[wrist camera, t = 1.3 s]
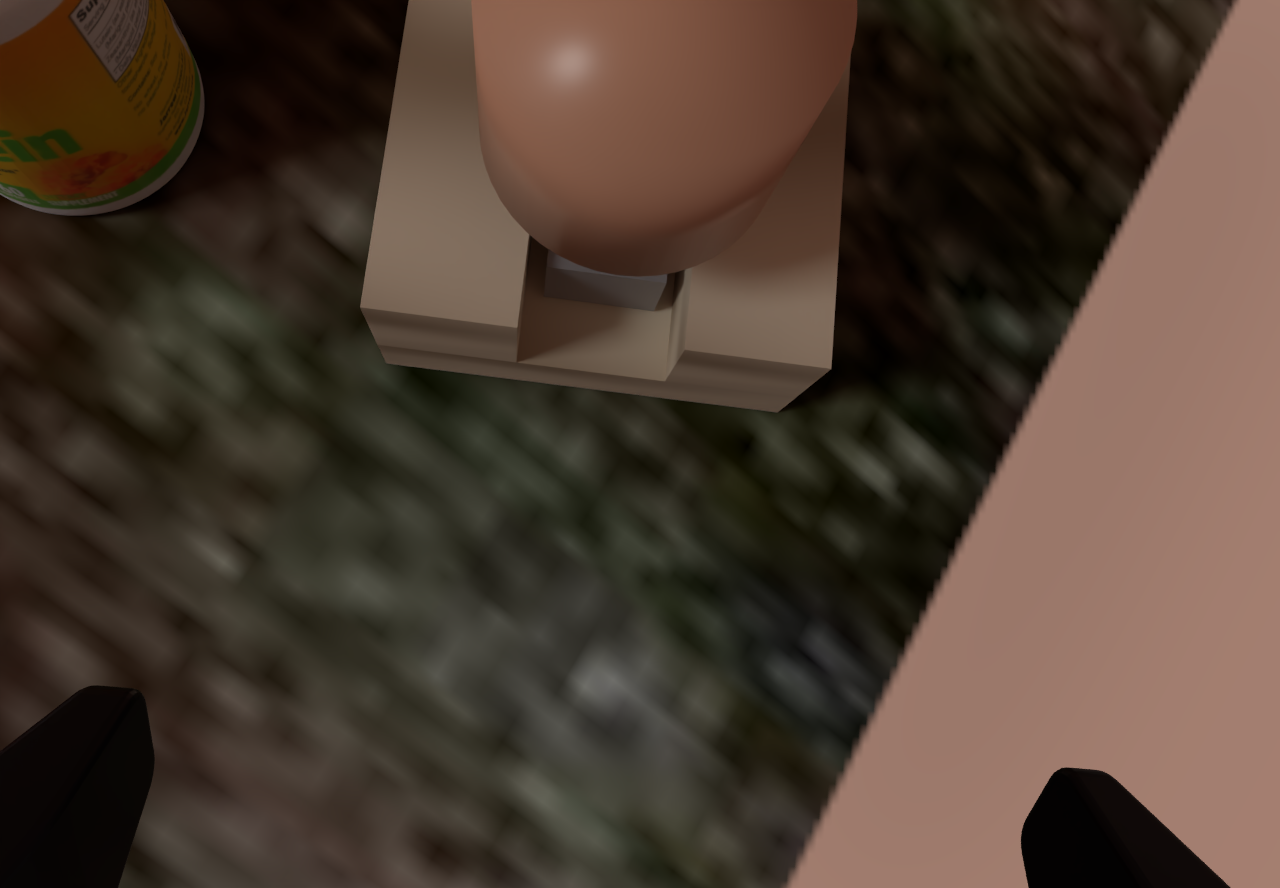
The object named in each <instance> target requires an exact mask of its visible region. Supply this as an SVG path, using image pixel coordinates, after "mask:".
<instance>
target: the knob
mask: <svg viewBox="0 0 1280 888" xmlns="http://www.w3.org/2000/svg"><path fill="white" fill-rule="evenodd" d="M471 5H472V21H473V37H474V53H475V69H476V85H477V101H478V117H479V132H480V146H481V151H482V155H483V160H484V164H485V167H486V170H487V173H488V175H489V178H490V181H491V183H492V185H493V187H494V189H495V191H496V193H497V195H498V197H499V198H500V200H501V202H502V203H503V205H504V206H505V207H506V209H507V210H508V212H509V213H510V214H511V216H512V217H513V218H514V219H515V220H516V221H517V222H518V224H519V225H520V226H521V227H522V228H523V229H524V230H525V231H526V232H527V233H528V234H530V235H531V236H532V237H533V238H534V239H536V240H537V241H538V242H539V243H540V244H542V245H543V246H545V247H546V248H548V249H549V250H548V259H547V267H546V277H545V287H544V297H551V298H559V299H566V300H574V301H581V302H589V303H596V304H603V305H611V306H618V307H626V308H633V309H641V310H648V311H654V310H655V308H656V305H657V303H658V301H659V299H660V296H661V294H662V292H663V290H664V288H665V285H666V283H667V274H669V273H675V272H679V271H682V270H685V269H688V268H691V267H694V266H697V265H699V264H701V263H703V262H705V261H707V260H709V259H712V258H713V257H715V256H716V255H718V254H720V253H721V252H723V251H724V250H726V249H727V248H729V247H730V246H731V245H732V244H733V243H734V242H736V241H737V240H738V239H739V238H740V237H741V236H742V235H743V234H744V233H745V232H746V231H747V230H748V229H749V227H750V226H751V225H752V224H753V223H754V222H755V220H756V218H757V217H758V215H759V214H760V212H761V211H762V209H763V208H764V206H765V204H766V203H767V201H768V199H769V198H770V196H771V194H772V193H773V191H774V189H775V188H776V186H777V184H778V183H779V181H780V179H781V178H782V176H783V174H784V173H785V171H786V169H787V168H788V166H789V164H790V163H791V161H792V159H793V158H794V156H795V155H796V153H797V151H798V150H799V148H800V146H801V145H802V143H803V141H804V140H805V138H806V136H807V135H808V133H809V131H810V130H811V128H812V126H813V125H814V123H815V121H816V120H817V118H818V116H819V115H820V113H821V111H822V110H823V108H824V106H825V105H826V103H827V101H828V100H829V98H830V96H831V95H832V93H833V91H834V90H835V88H836V86H837V85H838V83H839V81H840V79H841V77H842V74H843V72H844V70H845V68H846V66H847V63H848V61H849V57H850V54H851V50H852V47H853V43H854V38H855V31H856V23H857V0H471Z"/></svg>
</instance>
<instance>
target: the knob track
mask: <svg viewBox="0 0 1280 888" xmlns="http://www.w3.org/2000/svg"><path fill="white" fill-rule="evenodd" d="M850 58H851V54H850V57H849V61H848V63H847V66H846V68H845V70H844V72H843V74H842V77H841V79H840V81H839V83H838V85H837V86H836V88H835V90H834V91H833V93H832V95H831V96H830V98H829V100H828V101H827V103H826V105H825V106H824V108H823V110H822V111H821V113H820V115H819V116H818V118H817V120H816V121H815V123H814V125H813V126H812V128H811V130H810V131H809V133H808V135H807V136H806V138H805V140H804V141H803V143H802V145H801V146H800V148H799V150H798V151H797V153H796V155H795V156H794V158H793V159H792V161H791V163H790V164H789V166H788V168H787V169H786V171H785V173H784V174H783V176H782V178H781V179H780V181H779V183H778V184H777V186H776V188H775V189H774V191H773V193H772V194H771V196H770V198H769V199H768V201H767V203H766V204H765V206H764V208H763V209H762V211H761V212H760V214H759V215H758V217H757V218H756V220H755V222H754V223H753V224H752V225H751V226H750V227H749V229H748V230H747V231H746V232H745V233H744V234H743V235H742V236H741V237H740V238H739V239H738V240H737V241H736V242H734V243H733V244H732V245H731V246H730V247H729V248H727V249H726V250H724V251H723V252H721V253H720V254H718V255H716V256H715V257H713V258H712V259H709V260H707V261H705V262H703V263H701V264H699V265H697V266H694V267H691V268H688V269H685V270H682V271H679V272H675V273H669V274H667V283H666V285H665V288H664V290H663V292H662V294H661V296H660V299H659V301H658V303H657V305H656V308H655V310H654V311H648V310H641V309H633V308H626V307H618V306H611V305H603V304H596V303H589V302H581V301H574V300H566V299H559V298H551V297H544V287H545V277H546V267H547V259H548V250H549V249H548V248H546V247H545V246H543V245H542V244H540V243H539V242H538V241H537V240H536V239H534V238H533V237H532V236H531V235H530V234H528V233H527V232H526V231H525V230H524V229H523V228H522V227H521V226H520V225H519V224H518V222H517V221H516V220H515V219H514V218H513V217H512V216H511V214H510V213H509V212H508V210H507V209H506V207H505V206H504V205H503V203H502V202H501V200H500V198H499V197H498V195H497V193H496V191H495V189H494V187H493V185H492V183H491V181H490V178H489V175H488V173H487V170H486V167H485V164H484V160H483V155H482V151H481V146H480V132H479V117H478V101H477V85H476V69H475V53H474V37H473V21H472V5H471V0H409V2H408V9H407V15H406V21H405V27H404V34H403V40H402V46H401V53H400V59H399V65H398V72H397V78H396V84H395V91H394V97H393V103H392V109H391V116H390V122H389V128H388V135H387V141H386V147H385V154H384V160H383V166H382V173H381V179H380V185H379V192H378V198H377V204H376V210H375V217H374V223H373V229H372V236H371V242H370V248H369V255H368V261H367V267H366V274H365V280H364V286H363V292H362V299H361V305H360V308H361V310H362V312H363V314H364V317H365V319H366V321H367V323H368V325H369V327H370V329H371V332H372V334H373V336H374V338H375V340H376V342H377V344H378V347H379V349H380V351H381V353H382V355H383V357H384V359H385V362H386V363H387V364H395V365H403V366H411V367H419V368H427V369H435V370H443V371H451V372H459V373H467V374H475V375H483V376H491V377H499V378H507V379H515V380H523V381H531V382H539V383H547V384H555V385H563V386H571V387H579V388H587V389H595V390H603V391H611V392H619V393H627V394H635V395H643V396H650V397H658V398H666V399H674V400H682V401H690V402H698V403H706V404H714V405H722V406H730V407H738V408H746V409H754V410H762V411H770V412H779V411H780V410H781V409H782V408H784V407H785V406H786V405H787V404H789V403H790V402H791V401H792V400H794V399H795V398H796V397H797V396H798V395H800V394H801V393H802V392H803V391H805V390H806V389H807V388H808V387H810V386H811V385H812V384H813V383H815V382H816V381H817V380H818V379H819V378H821V377H822V376H823V375H824V374H826V373H827V372H828V371H829V370H831V367H832V350H833V334H834V318H835V302H836V286H837V269H838V253H839V237H840V221H841V204H842V188H843V172H844V156H845V139H846V123H847V107H848V91H849V75H850Z"/></svg>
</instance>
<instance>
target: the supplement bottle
mask: <svg viewBox="0 0 1280 888" xmlns="http://www.w3.org/2000/svg"><path fill="white" fill-rule="evenodd" d="M203 117H204V91H203V85H202V80H201V76H200V72H199V69H198V66H197V64H196V61H195V59H194V57H193V55H192V53H191V50H190V48H189V46H188V44H187V42H186V40H185V38H184V36H183V34H182V33H181V31H180V29H179V27H178V25H177V23H176V21H175V20H174V18H173V16H172V14H171V13H170V11H169V9H168V7H167V5H166V3H165V2H164V0H0V195H2V196H4V197H6V198H7V199H9V200H11V201H13V202H16V203H18V204H20V205H22V206H25V207H28V208H31V209H34V210H37V211H41V212H45V213H51V214H58V215H68V216H83V215H94V214H100V213H106V212H111V211H114V210H118V209H121V208H124V207H127V206H129V205H132V204H134V203H136V202H138V201H140V200H142V199H144V198H146V197H148V196H150V195H151V194H153V193H154V192H155V191H157V190H158V189H160V188H161V187H162V186H164V185H165V184H166V183H167V182H168V181H169V180H171V179H172V178H173V177H174V176H175V175H176V174H177V172H178V171H179V170H180V169H181V168H182V166H183V165H184V163H185V162H186V161H187V159H188V157H189V156H190V154H191V152H192V150H193V148H194V146H195V144H196V142H197V139H198V136H199V133H200V130H201V127H202V122H203Z"/></svg>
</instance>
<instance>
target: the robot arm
mask: <svg viewBox="0 0 1280 888" xmlns="http://www.w3.org/2000/svg"><path fill="white" fill-rule="evenodd" d="M154 761H155V757H154V749H153V743H152V737H151V731H150V725H149V718H148V712H147V706H146V701H145V698H144V696H143V695H142V693H141V692H140V691H139V690H136V689H133V688H121V687H110V686H89V687H86V688H83V689H81V690H79V691H78V692H76V693H75V694H74V695H72V696H71V697H70V698H68V699H67V700H66V701H65V702H63V703H62V704H61V705H59V706H58V707H57V708H55V709H54V710H53V711H52V712H50V713H49V714H48V715H46V716H45V717H44V718H43V719H41V720H40V721H39V722H37V723H36V724H35V725H34V726H32V727H31V728H30V729H28V730H27V731H26V732H25V733H23V734H22V735H21V736H19V737H18V738H17V739H15V740H14V741H13V742H12V743H10V744H9V745H8V746H6V747H5V748H4V749H3V750H1V751H0V888H118V886H119V883H120V880H121V877H122V874H123V870H124V867H125V864H126V861H127V858H128V855H129V852H130V849H131V845H132V842H133V839H134V836H135V833H136V830H137V827H138V824H139V820H140V817H141V814H142V811H143V808H144V805H145V802H146V799H147V795H148V792H149V789H150V786H151V782H152V778H153V772H154ZM1021 849H1022V856H1023V861H1024V866H1025V871H1026V877H1027V881H1028V887H1029V888H1230V887H1229V886H1228V885H1227V884H1226V883H1225V882H1224V881H1223V880H1222V879H1221V878H1220V877H1219V876H1218V875H1216V873H1214V872H1213V871H1212V870H1211V869H1210V868H1209V867H1208V866H1207V865H1206V864H1205V863H1204V862H1203V861H1201V859H1200V858H1199V857H1197V856H1196V855H1195V854H1194V853H1193V852H1192V851H1191V850H1190V849H1189V848H1188V847H1187V846H1186V845H1184V843H1183V842H1181V840H1179V839H1178V838H1177V837H1176V836H1175V835H1174V834H1173V833H1172V832H1171V831H1170V830H1169V829H1168V828H1167V827H1166V826H1165V825H1164V824H1162V823H1161V822H1160V821H1159V820H1158V819H1157V818H1156V817H1155V816H1154V815H1153V814H1152V813H1151V812H1150V811H1149V810H1147V808H1146V807H1144V806H1143V805H1142V804H1141V803H1140V802H1139V801H1138V800H1137V799H1136V798H1135V797H1134V796H1133V795H1132V794H1131V793H1130V792H1129V791H1127V790H1126V789H1125V788H1124V787H1123V786H1122V785H1121V784H1120V783H1119V782H1118V781H1117V780H1116V779H1114V778H1113V777H1112V776H1110V775H1109V774H1107V773H1105V772H1103V771H1099V770H1090V769H1079V768H1061V769H1060V770H1057V771H1056V772H1054V774H1053V775H1052V776H1051V778H1050V779H1049V781H1048V783H1047V784H1046V786H1045V788H1044V789H1043V791H1042V793H1041V794H1040V796H1039V798H1038V800H1037V801H1036V803H1035V805H1034V807H1033V808H1032V810H1031V811H1030V813H1029V815H1028V817H1027V818H1026V820H1025V823H1024V825H1023V829H1022V835H1021Z"/></svg>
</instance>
